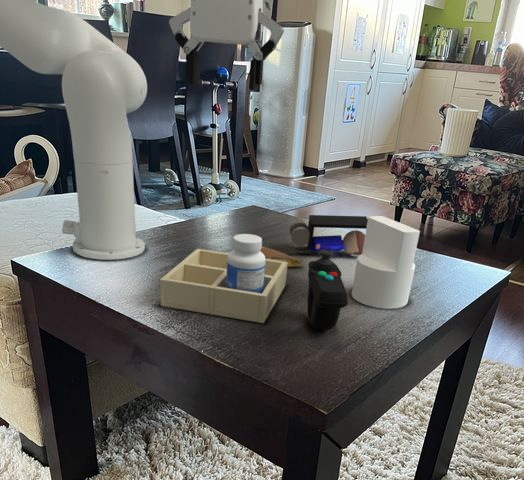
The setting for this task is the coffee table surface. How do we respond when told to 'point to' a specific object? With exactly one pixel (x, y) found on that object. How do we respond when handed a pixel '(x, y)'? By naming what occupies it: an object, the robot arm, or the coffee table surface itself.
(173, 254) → the coffee table surface
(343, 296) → the controller
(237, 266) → the pill bottle
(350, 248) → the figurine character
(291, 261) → the shard
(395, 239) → the cylinder with rectangular tab
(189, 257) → the open box
